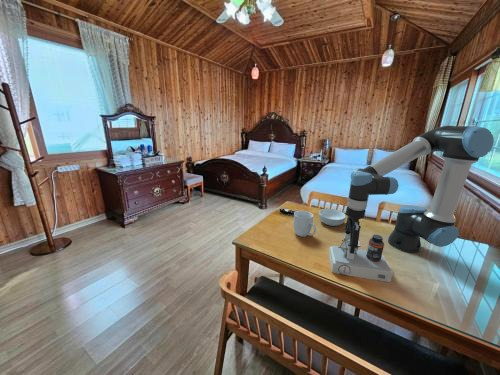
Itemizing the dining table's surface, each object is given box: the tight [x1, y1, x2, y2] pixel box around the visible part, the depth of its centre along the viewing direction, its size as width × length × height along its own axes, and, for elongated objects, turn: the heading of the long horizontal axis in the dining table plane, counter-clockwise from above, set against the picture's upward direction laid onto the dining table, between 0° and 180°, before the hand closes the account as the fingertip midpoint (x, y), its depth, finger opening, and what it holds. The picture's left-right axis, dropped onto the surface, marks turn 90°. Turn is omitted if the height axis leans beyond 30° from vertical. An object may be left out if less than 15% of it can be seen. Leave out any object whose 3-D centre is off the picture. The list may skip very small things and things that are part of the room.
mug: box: [293, 210, 317, 238], centre depth 128 cm, size 15×11×13 cm
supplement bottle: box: [366, 233, 385, 262], centre depth 98 cm, size 6×6×11 cm
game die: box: [338, 238, 361, 257], centre depth 101 cm, size 9×8×10 cm
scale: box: [328, 244, 394, 283], centre depth 102 cm, size 24×15×6 cm, turn 77°
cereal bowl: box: [318, 208, 347, 227], centre depth 145 cm, size 17×17×7 cm
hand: (348, 251), depth 102 cm, fingers open, 9 cm apart
